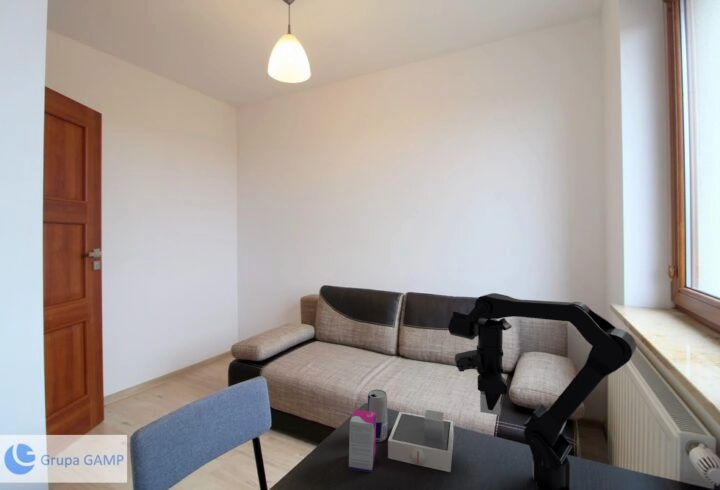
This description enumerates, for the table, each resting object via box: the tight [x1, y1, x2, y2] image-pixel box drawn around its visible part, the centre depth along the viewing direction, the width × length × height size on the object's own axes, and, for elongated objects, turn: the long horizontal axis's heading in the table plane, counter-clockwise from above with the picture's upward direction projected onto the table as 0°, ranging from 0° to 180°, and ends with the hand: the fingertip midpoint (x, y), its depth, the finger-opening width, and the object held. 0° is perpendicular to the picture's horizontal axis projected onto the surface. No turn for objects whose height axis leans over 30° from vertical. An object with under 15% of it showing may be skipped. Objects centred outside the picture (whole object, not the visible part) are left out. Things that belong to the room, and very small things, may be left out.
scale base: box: [387, 411, 454, 473], centre depth 84 cm, size 15×14×4 cm
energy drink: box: [367, 389, 388, 443], centre depth 88 cm, size 5×5×12 cm
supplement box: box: [348, 409, 377, 473], centre depth 78 cm, size 6×6×12 cm
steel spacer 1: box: [424, 409, 445, 440], centre depth 83 cm, size 4×4×4 cm
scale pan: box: [393, 414, 449, 451], centre depth 84 cm, size 13×12×1 cm
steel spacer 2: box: [479, 391, 501, 416], centre depth 81 cm, size 4×4×4 cm
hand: (489, 404), depth 81 cm, fingers closed on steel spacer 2, 4 cm apart
